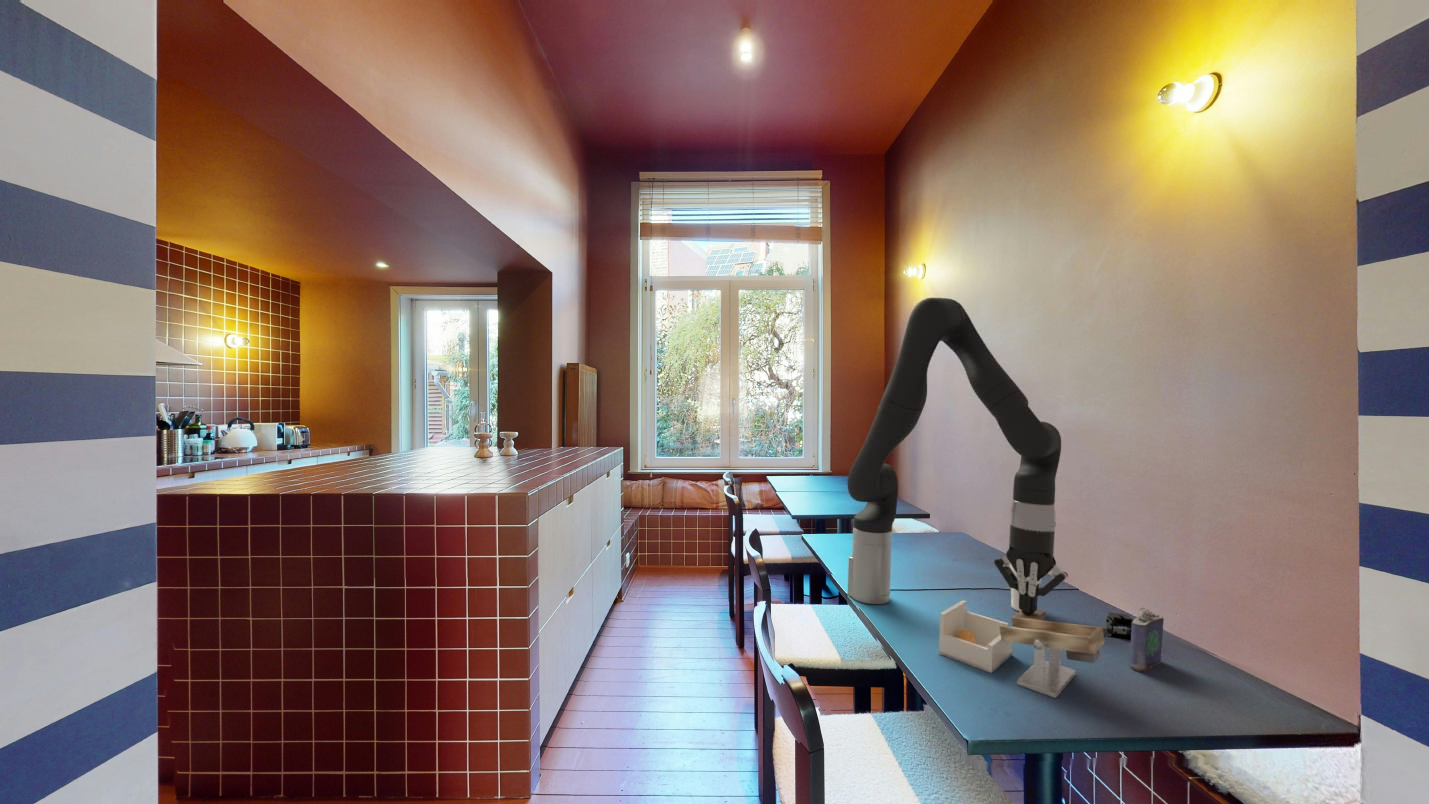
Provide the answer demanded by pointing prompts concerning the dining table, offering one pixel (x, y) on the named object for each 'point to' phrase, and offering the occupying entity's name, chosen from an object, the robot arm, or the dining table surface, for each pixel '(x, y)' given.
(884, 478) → the robot arm
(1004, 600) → the dining table surface
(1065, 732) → the dining table surface
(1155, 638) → the flask
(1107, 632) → the black blocky device
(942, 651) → the white open bin
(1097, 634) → the chute
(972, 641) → the ball
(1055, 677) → the stand
